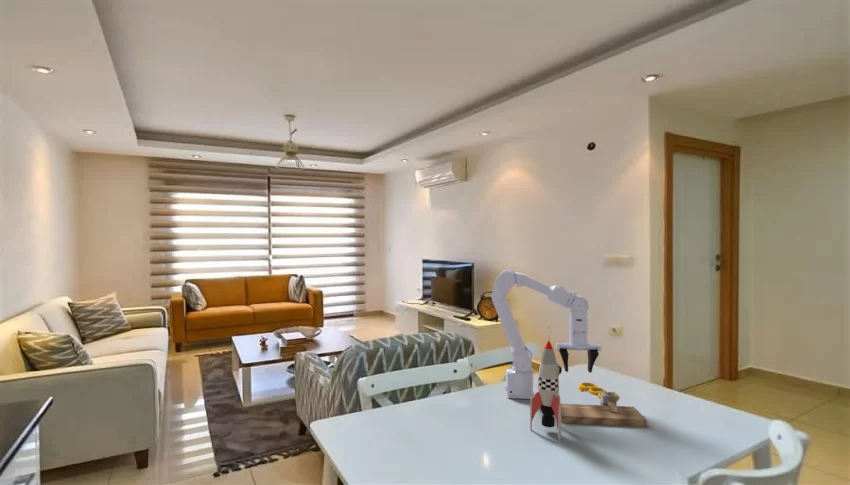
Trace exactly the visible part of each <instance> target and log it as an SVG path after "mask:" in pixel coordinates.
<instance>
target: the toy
mask: <svg viewBox="0 0 850 485" xmlns="http://www.w3.org/2000/svg"><path fill="white" fill-rule="evenodd" d="M548 328H550V325H548ZM542 350H543V351H542V356H541V359H540V365H539V369H538V379H537V381H538V382H537V388H538V392H536V393H534V395H535V396H534V398H533V399H532V390H531V398H530V399H529V402H530V404H529V405H530V406H529V410H530V411H529V415H530V417H529V419H530V420H529V430H530V431H533V430H532V429H533V420H534V418H535V416H536V413H537V412H538V411H539V409H540V411H541V414H542V416H541V425H542V427H545V428H553V427H555V422H556V427H557V430H558V431H557V433H558V434H557V437H558V438H557V439H558V441H561V440H562V439H561V438H562V437H561V433H562V432H561V431H562V429H561V428H562V425H561V424H562V421H561V406H560V404H561V397H560V383H559V382H560V381H559V376H560V375H561V374H562V371H563V368H562V367H561V365H560V364H559V363H557V359H556V355H555V350H554V347H553V346H552V343H551V341H550V336H548V340H547V342H546V344H545V347H544V348H543V349H542ZM554 416H555V417H554ZM555 420H556V421H555Z"/></svg>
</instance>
